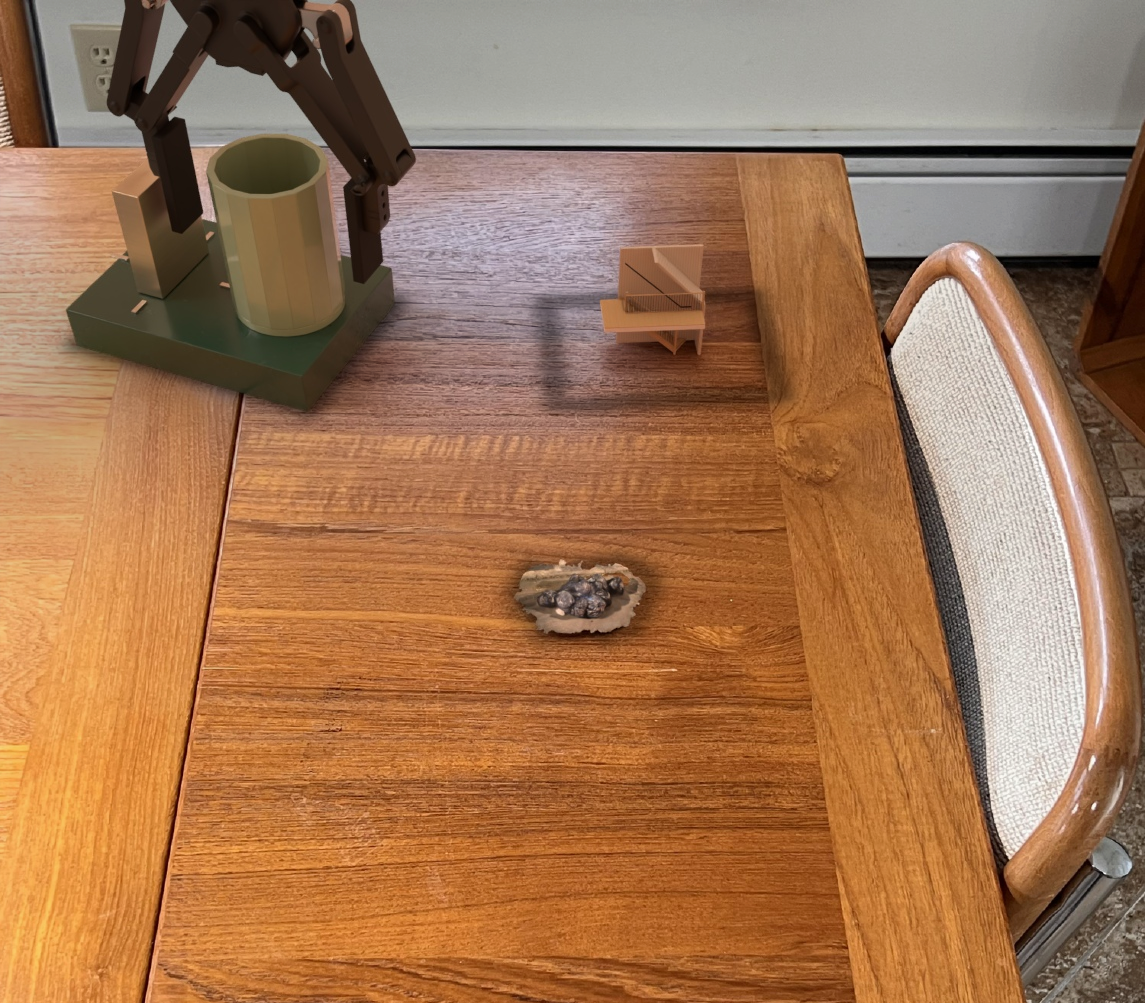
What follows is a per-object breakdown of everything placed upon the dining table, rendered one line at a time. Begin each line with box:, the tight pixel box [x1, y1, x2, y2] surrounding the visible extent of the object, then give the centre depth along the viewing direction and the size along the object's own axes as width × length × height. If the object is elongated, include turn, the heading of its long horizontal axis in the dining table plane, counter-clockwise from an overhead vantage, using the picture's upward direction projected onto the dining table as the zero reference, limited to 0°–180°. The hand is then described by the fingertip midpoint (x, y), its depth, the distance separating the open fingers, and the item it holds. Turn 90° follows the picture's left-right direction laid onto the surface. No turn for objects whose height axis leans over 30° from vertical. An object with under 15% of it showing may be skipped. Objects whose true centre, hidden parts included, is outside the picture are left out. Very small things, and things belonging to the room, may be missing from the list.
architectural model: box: [599, 243, 707, 356], centre depth 95 cm, size 3×7×7 cm, turn 95°
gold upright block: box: [111, 158, 209, 299], centre depth 95 cm, size 6×2×8 cm, turn 158°
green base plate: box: [65, 218, 396, 413], centre depth 98 cm, size 19×13×3 cm
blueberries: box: [513, 559, 647, 634], centre depth 83 cm, size 7×8×2 cm
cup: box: [205, 133, 345, 337], centre depth 92 cm, size 7×7×10 cm
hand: (276, 246), depth 93 cm, fingers open, 13 cm apart
